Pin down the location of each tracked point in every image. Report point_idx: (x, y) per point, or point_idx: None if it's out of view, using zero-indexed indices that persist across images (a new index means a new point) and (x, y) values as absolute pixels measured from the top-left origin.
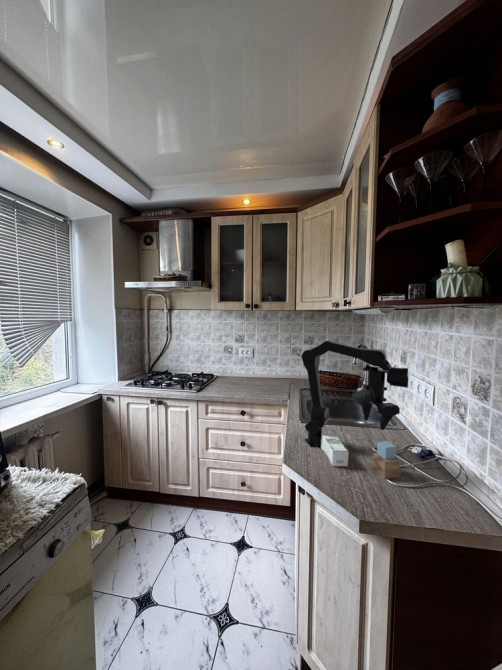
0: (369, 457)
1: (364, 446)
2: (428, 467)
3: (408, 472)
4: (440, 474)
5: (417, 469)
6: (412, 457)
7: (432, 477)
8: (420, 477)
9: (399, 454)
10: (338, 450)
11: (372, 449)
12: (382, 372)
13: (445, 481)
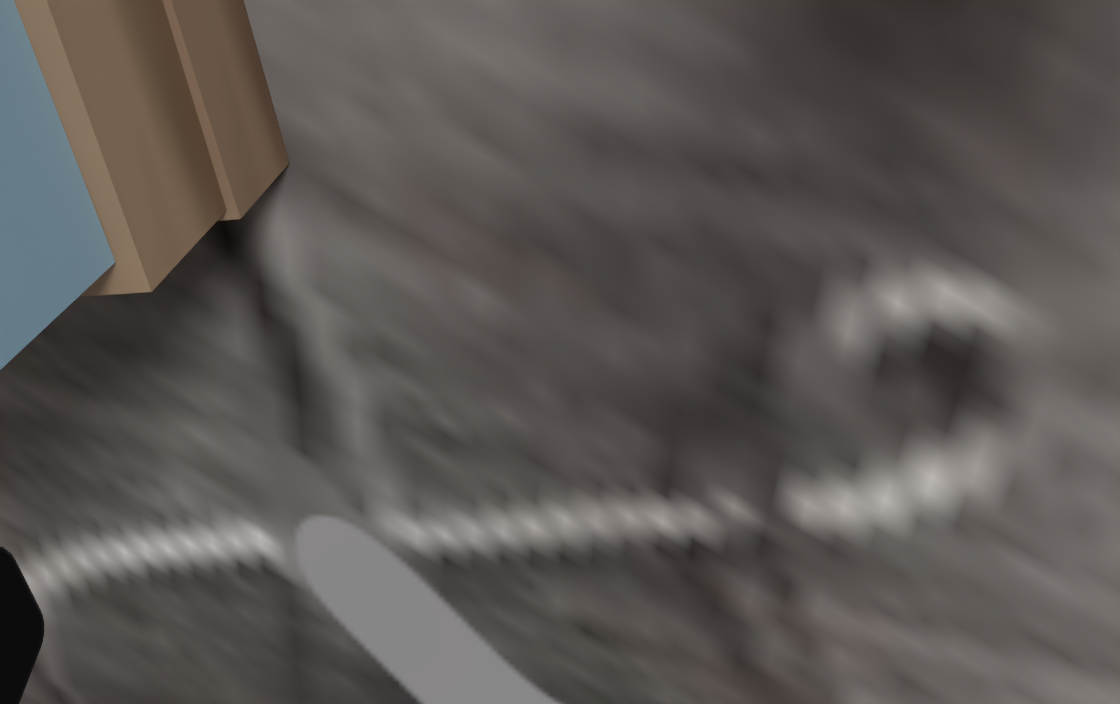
0: (640, 24)
1: (1113, 182)
2: (317, 677)
3: (158, 381)
4: (167, 686)
5: (255, 536)
6: (575, 673)
7: (82, 572)
8: (52, 446)
9: (680, 578)
10: None
11: (942, 271)
12: None
13: None
